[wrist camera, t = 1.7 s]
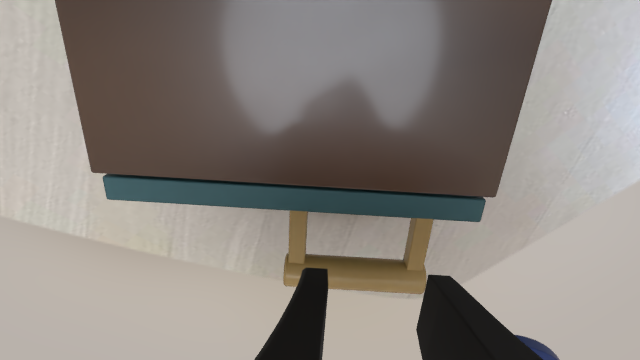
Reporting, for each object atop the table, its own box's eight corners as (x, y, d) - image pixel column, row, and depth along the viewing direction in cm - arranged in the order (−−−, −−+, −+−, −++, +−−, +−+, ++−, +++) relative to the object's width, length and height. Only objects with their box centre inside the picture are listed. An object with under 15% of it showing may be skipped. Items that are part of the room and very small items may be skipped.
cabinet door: (401, 226, 20) (448, 340, 13) (205, 213, 20) (130, 321, 12) (417, 131, 18) (487, 199, 10) (198, 118, 18) (101, 176, 10)
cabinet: (419, 127, 18) (496, 198, 10) (198, 113, 18) (90, 173, 10) (459, -102, 14) (638, -294, 6) (179, -120, 14) (-21, -342, 6)
